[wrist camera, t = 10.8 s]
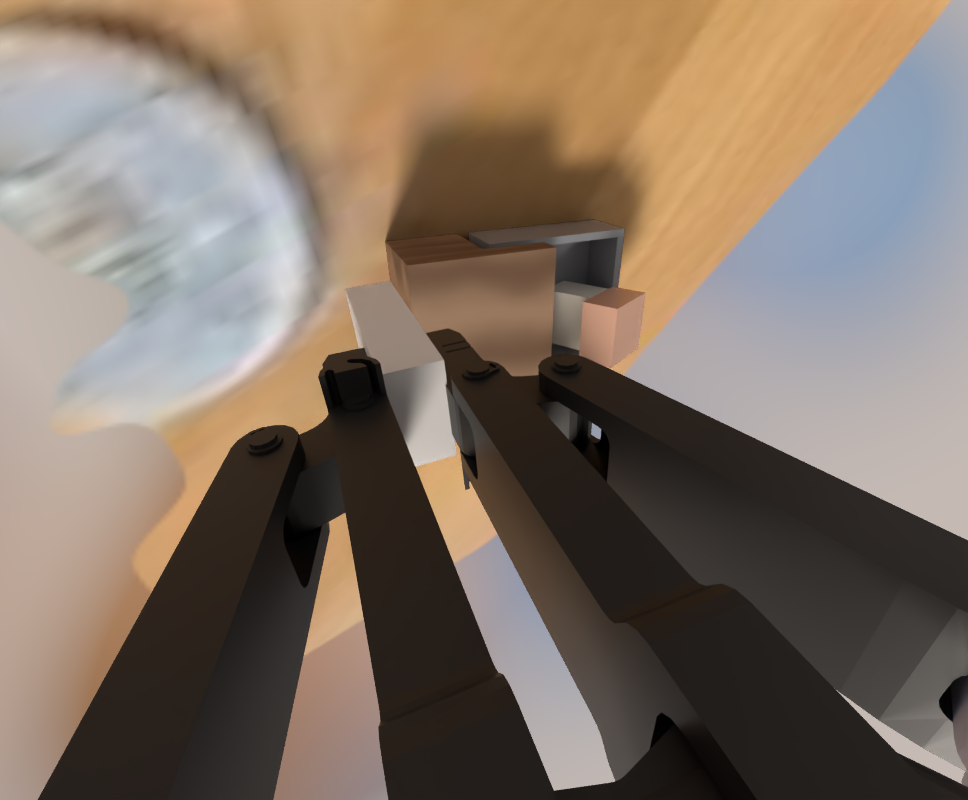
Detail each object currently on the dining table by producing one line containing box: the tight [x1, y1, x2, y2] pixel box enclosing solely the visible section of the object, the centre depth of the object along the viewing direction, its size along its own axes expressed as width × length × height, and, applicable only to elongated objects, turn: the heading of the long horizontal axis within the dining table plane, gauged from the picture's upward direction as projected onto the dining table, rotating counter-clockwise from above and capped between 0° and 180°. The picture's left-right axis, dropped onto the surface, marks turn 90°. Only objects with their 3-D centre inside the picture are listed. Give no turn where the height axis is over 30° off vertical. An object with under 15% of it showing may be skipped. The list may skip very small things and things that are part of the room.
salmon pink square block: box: [579, 287, 645, 368], centre depth 41 cm, size 5×5×3 cm
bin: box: [469, 219, 625, 356], centre depth 43 cm, size 12×12×5 cm
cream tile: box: [552, 281, 607, 350], centre depth 44 cm, size 5×5×3 cm
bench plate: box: [385, 234, 556, 376], centre depth 40 cm, size 14×11×8 cm
